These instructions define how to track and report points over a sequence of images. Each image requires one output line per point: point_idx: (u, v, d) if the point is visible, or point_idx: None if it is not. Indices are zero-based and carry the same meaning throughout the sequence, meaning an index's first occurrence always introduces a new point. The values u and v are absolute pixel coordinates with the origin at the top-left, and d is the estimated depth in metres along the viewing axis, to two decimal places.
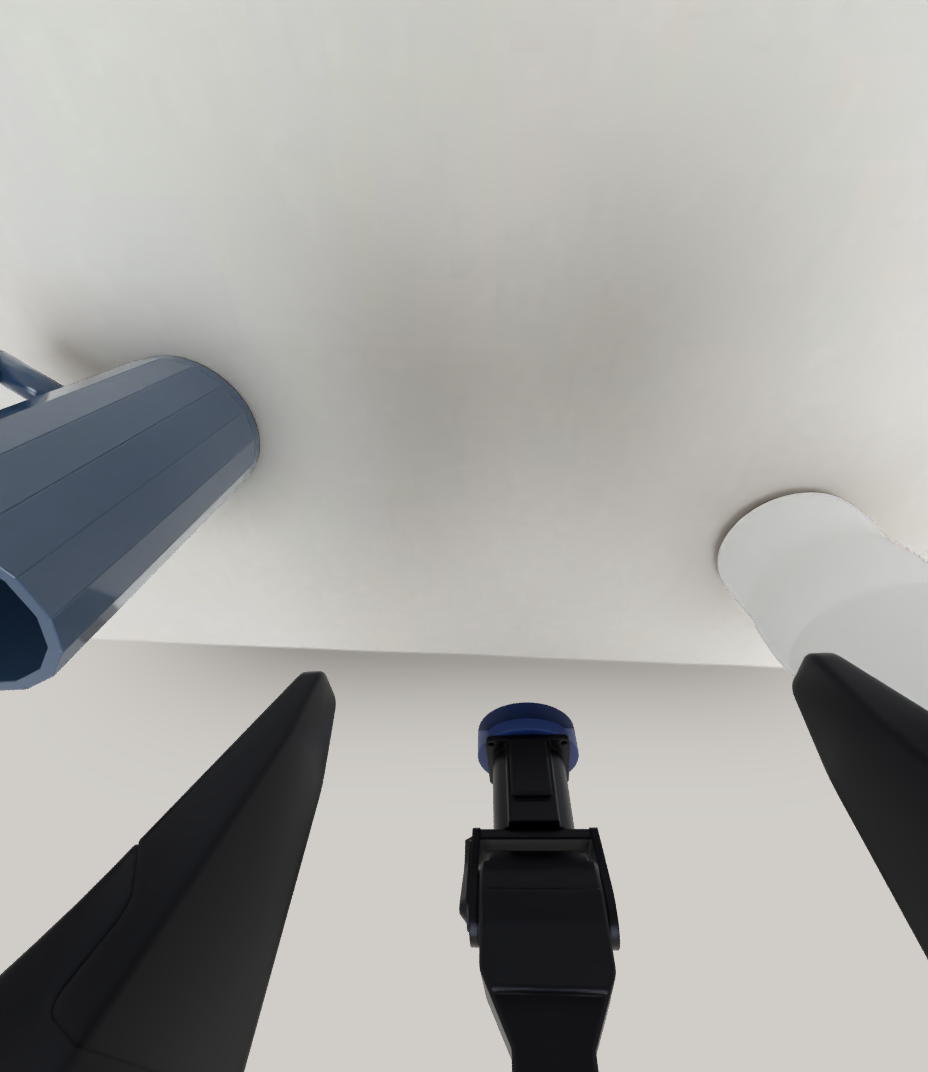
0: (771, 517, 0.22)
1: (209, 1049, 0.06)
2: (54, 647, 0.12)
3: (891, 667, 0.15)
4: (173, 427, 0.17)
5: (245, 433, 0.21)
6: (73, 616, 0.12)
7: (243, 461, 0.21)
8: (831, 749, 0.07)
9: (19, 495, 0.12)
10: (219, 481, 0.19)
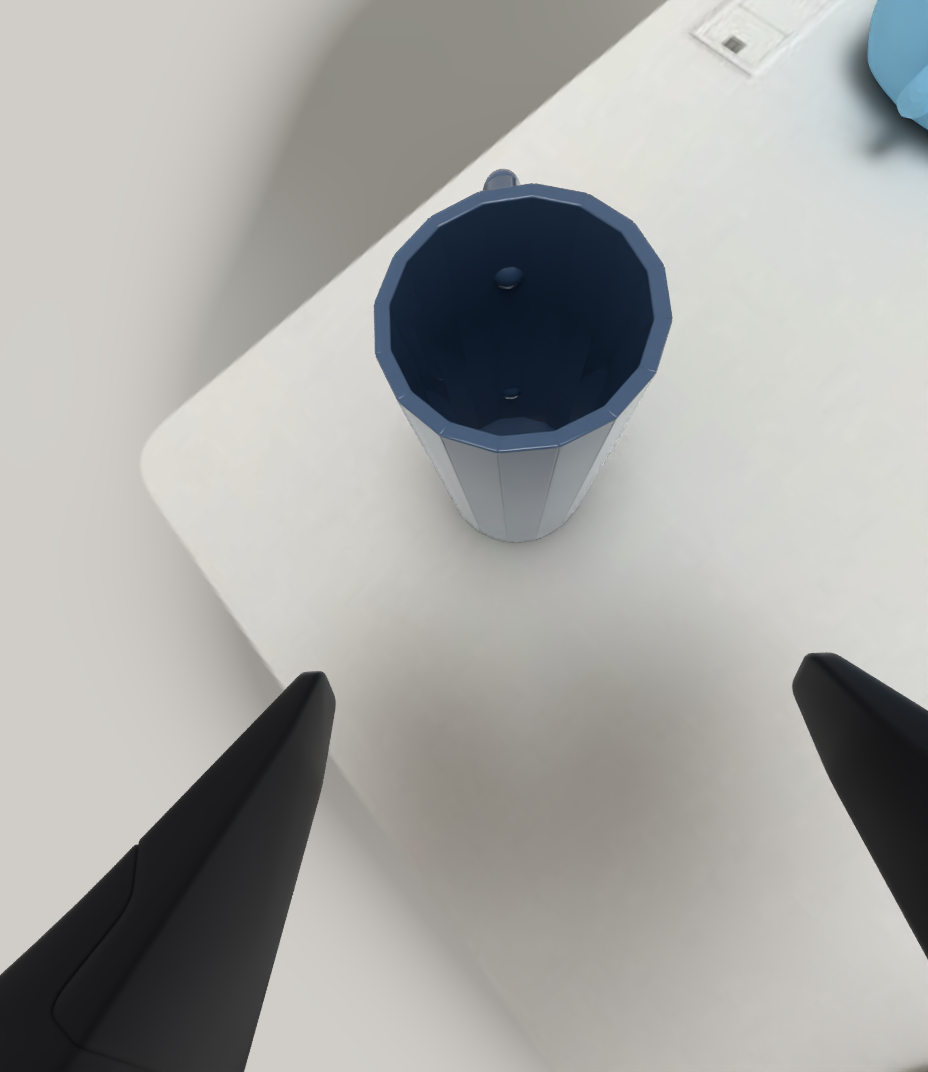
0: None
1: (209, 1049, 0.06)
2: (561, 436, 0.10)
3: None
4: None
5: (568, 517, 0.21)
6: (590, 440, 0.10)
7: (549, 528, 0.21)
8: (831, 749, 0.07)
9: None
10: (556, 516, 0.18)
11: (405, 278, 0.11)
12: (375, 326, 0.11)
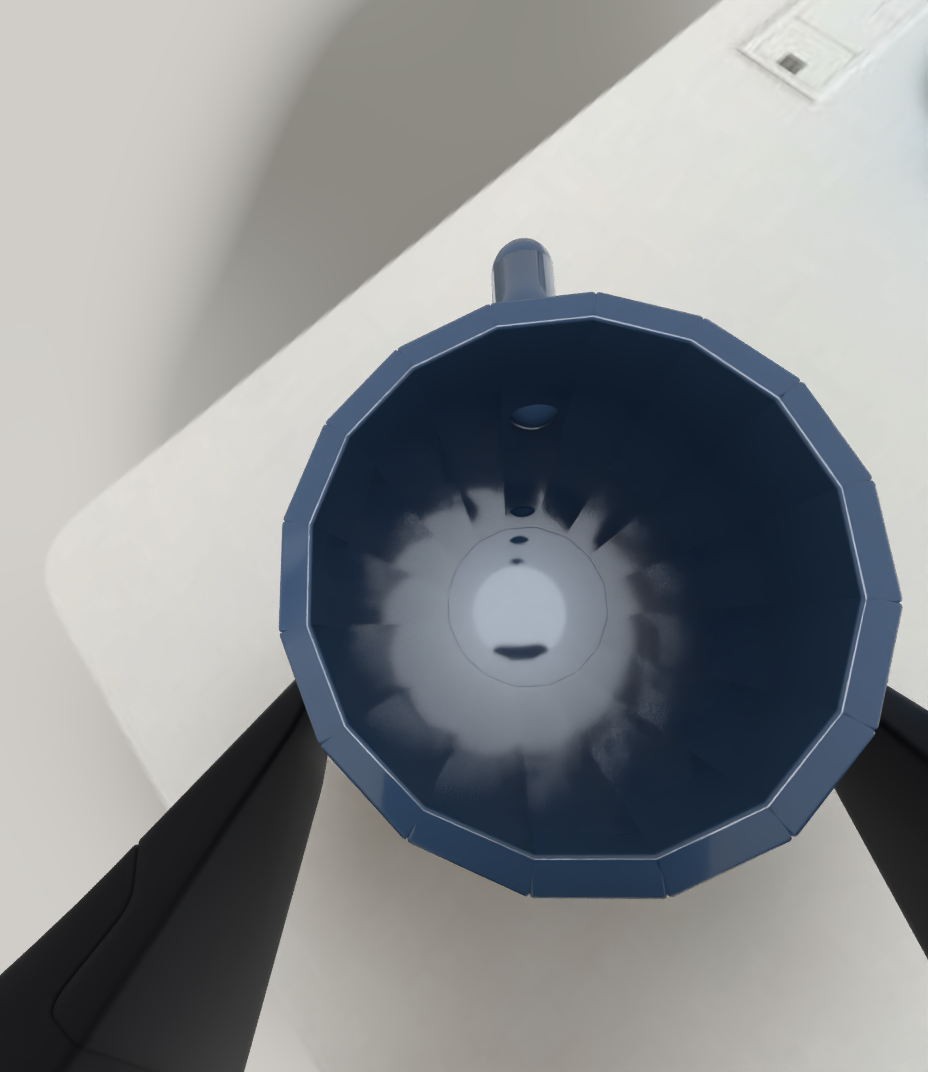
0: None
1: (209, 1049, 0.06)
2: (672, 873, 0.04)
3: None
4: None
5: None
6: None
7: None
8: None
9: None
10: None
11: (348, 462, 0.06)
12: (283, 566, 0.05)
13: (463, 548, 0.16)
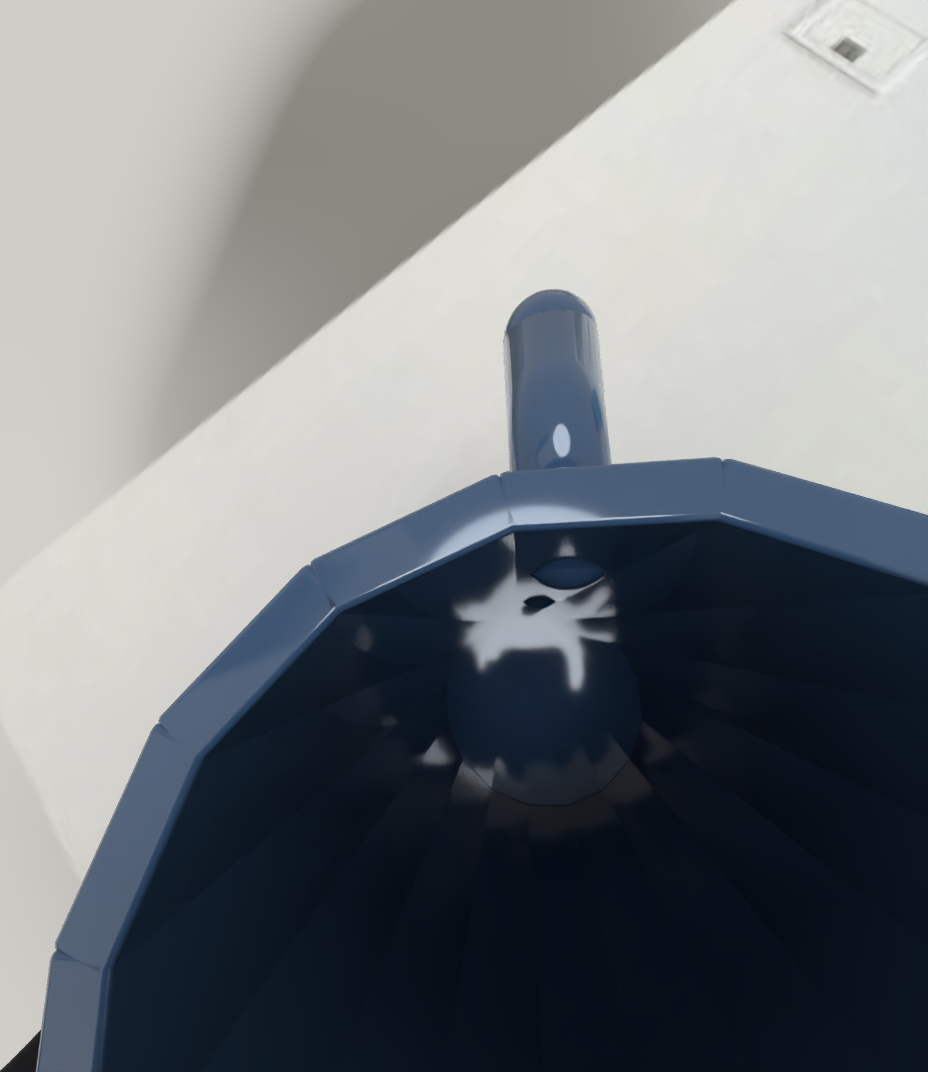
0: None
1: None
2: None
3: None
4: None
5: None
6: None
7: None
8: None
9: None
10: None
11: (211, 785, 0.03)
12: (54, 1049, 0.03)
13: (465, 637, 0.13)
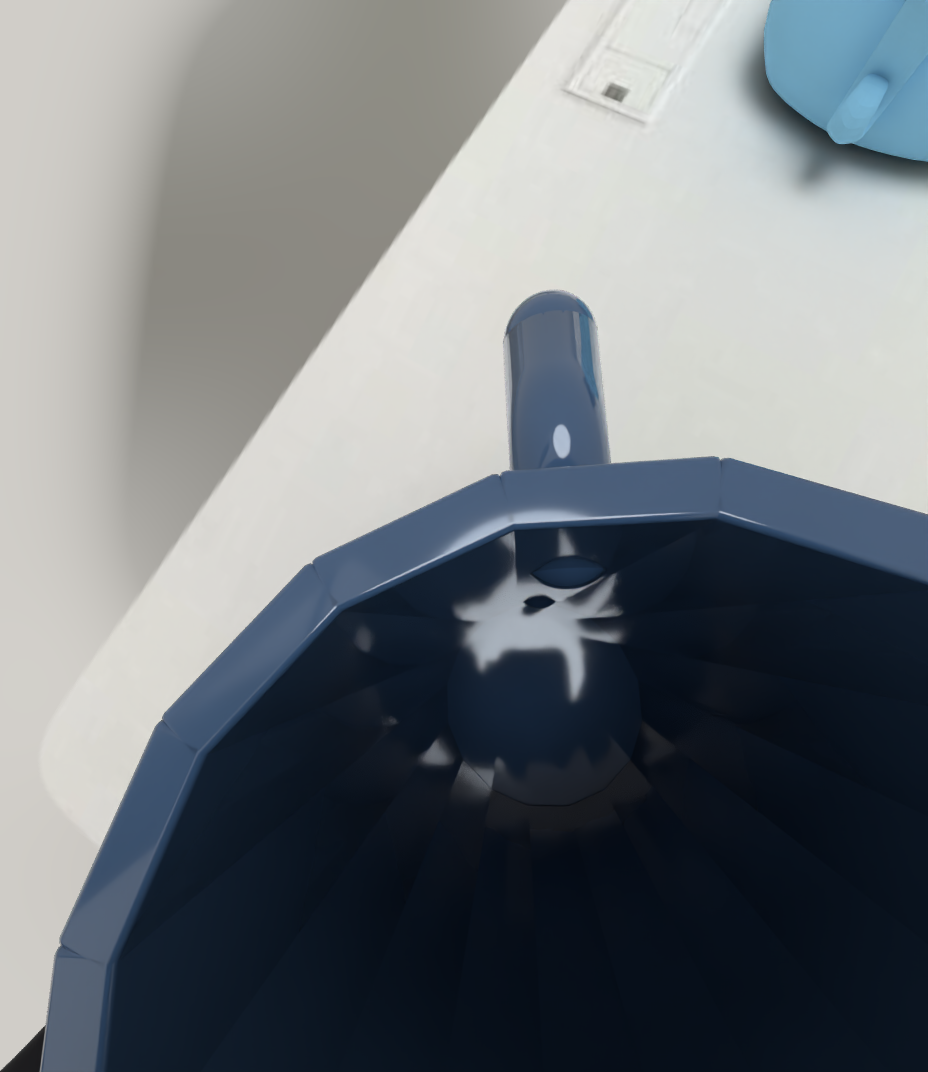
0: None
1: None
2: None
3: None
4: None
5: None
6: None
7: None
8: None
9: None
10: None
11: (214, 781, 0.03)
12: (55, 1043, 0.03)
13: (466, 638, 0.13)
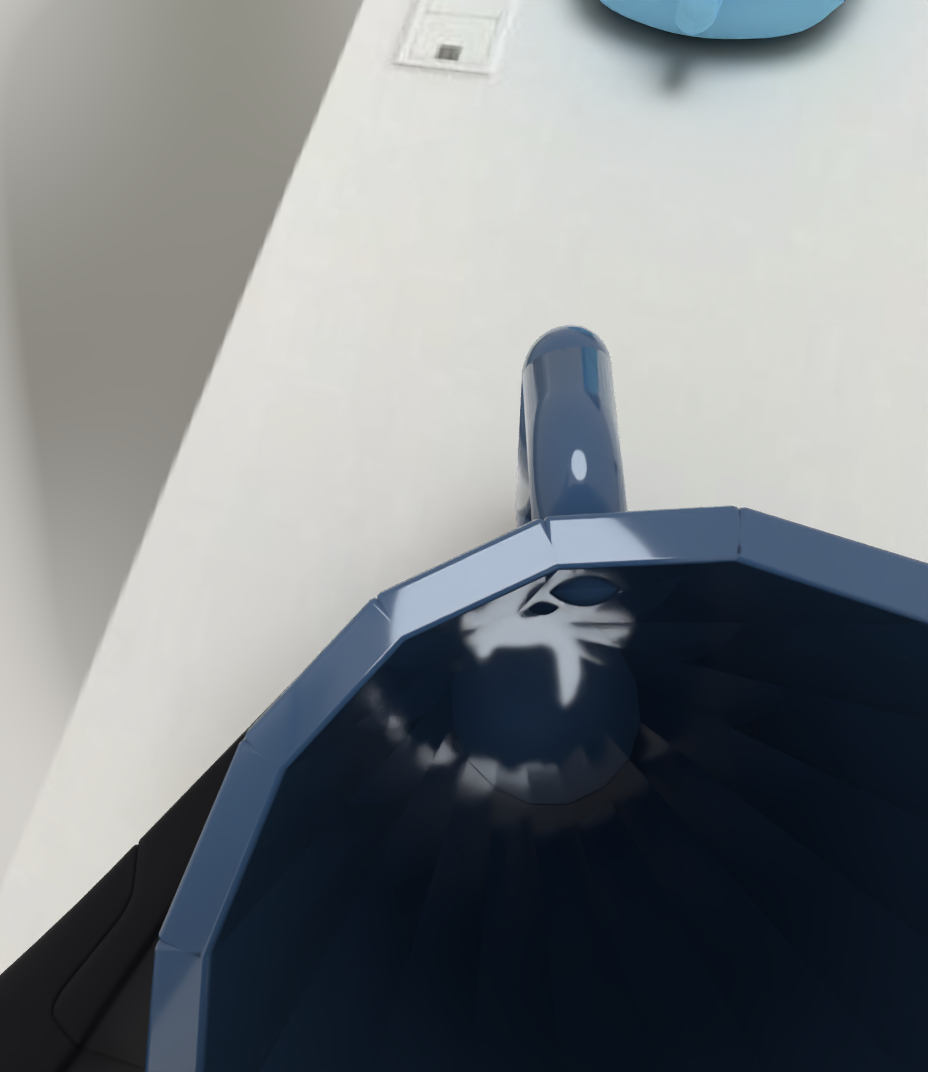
0: None
1: None
2: None
3: None
4: None
5: None
6: None
7: None
8: None
9: None
10: None
11: (287, 793, 0.03)
12: (157, 1027, 0.03)
13: (470, 642, 0.14)
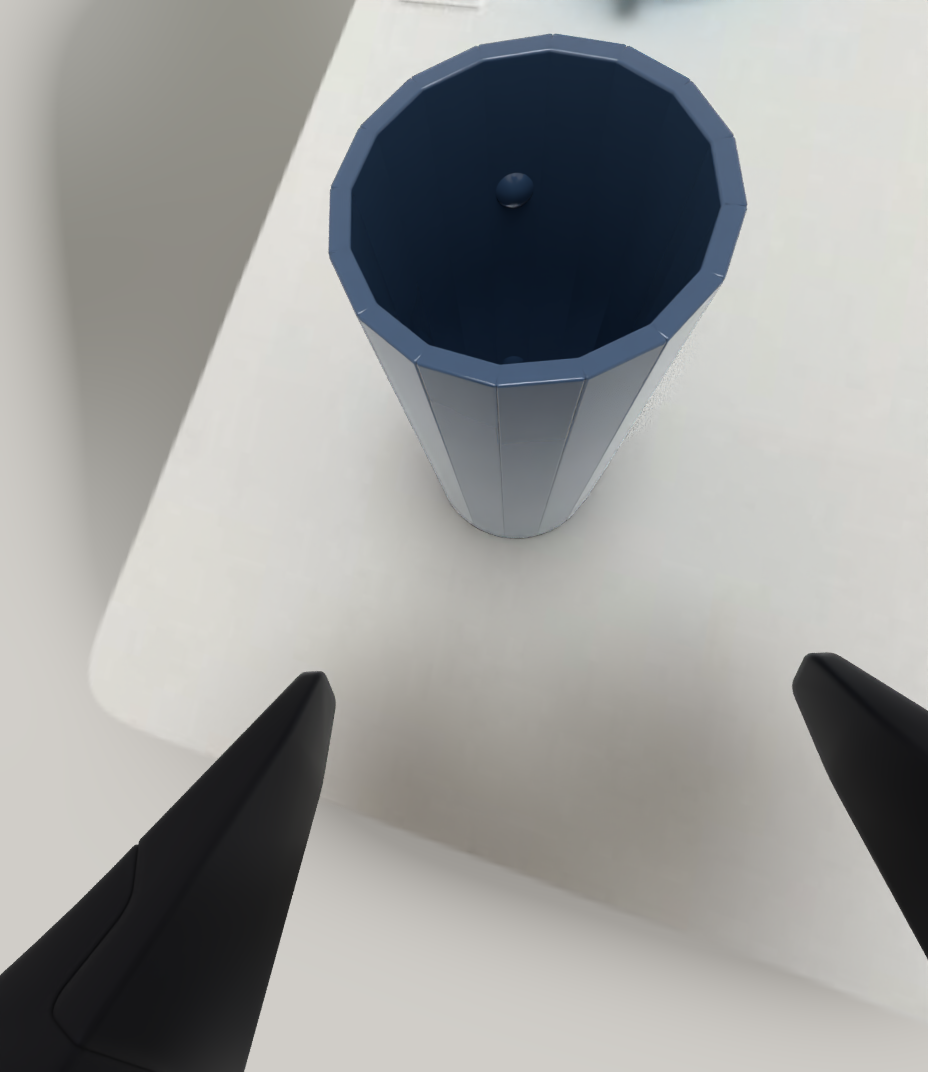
0: None
1: (209, 1049, 0.06)
2: (588, 365, 0.07)
3: None
4: None
5: (575, 509, 0.18)
6: (626, 376, 0.07)
7: (553, 521, 0.18)
8: (831, 749, 0.07)
9: None
10: (563, 505, 0.15)
11: (375, 160, 0.08)
12: (331, 218, 0.08)
13: None
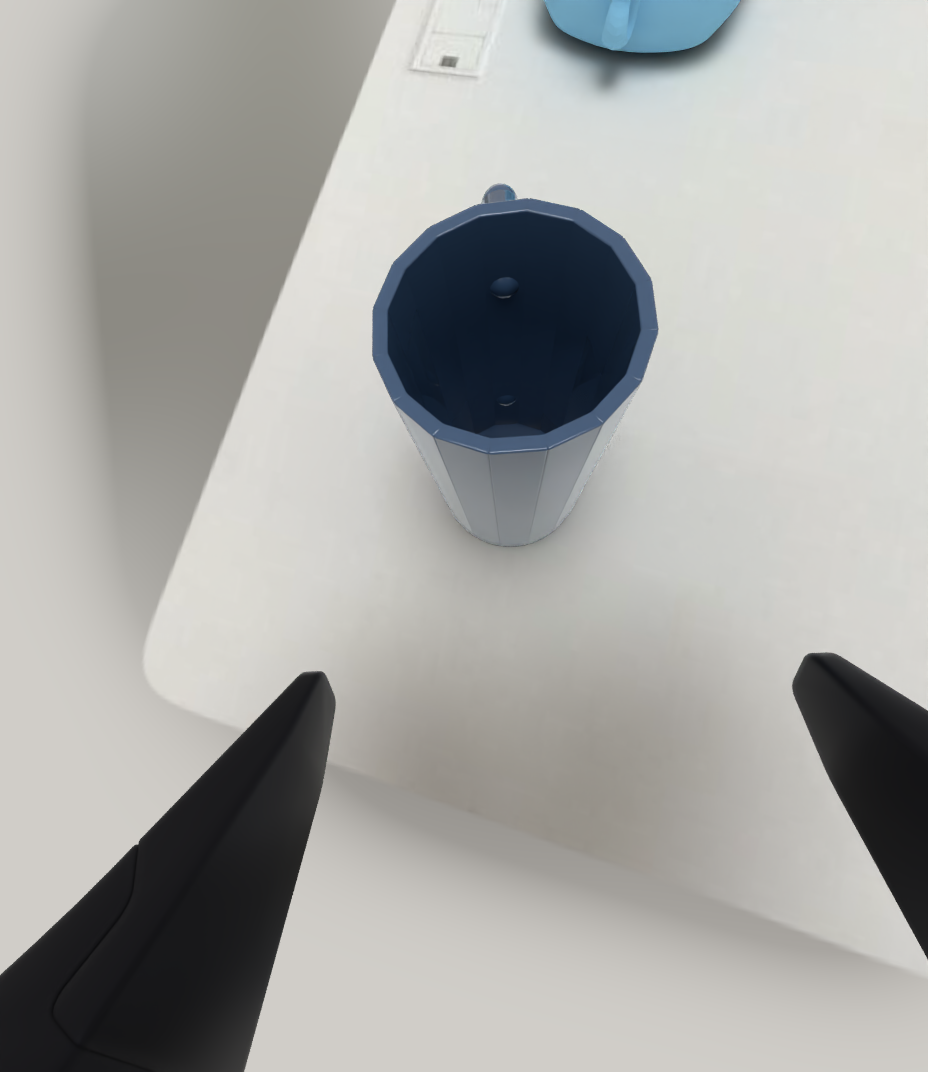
0: None
1: (209, 1048, 0.06)
2: (550, 440, 0.10)
3: None
4: None
5: (560, 522, 0.22)
6: (578, 444, 0.11)
7: (541, 533, 0.21)
8: (831, 749, 0.07)
9: None
10: (547, 521, 0.19)
11: (403, 285, 0.12)
12: (373, 330, 0.11)
13: None
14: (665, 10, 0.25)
